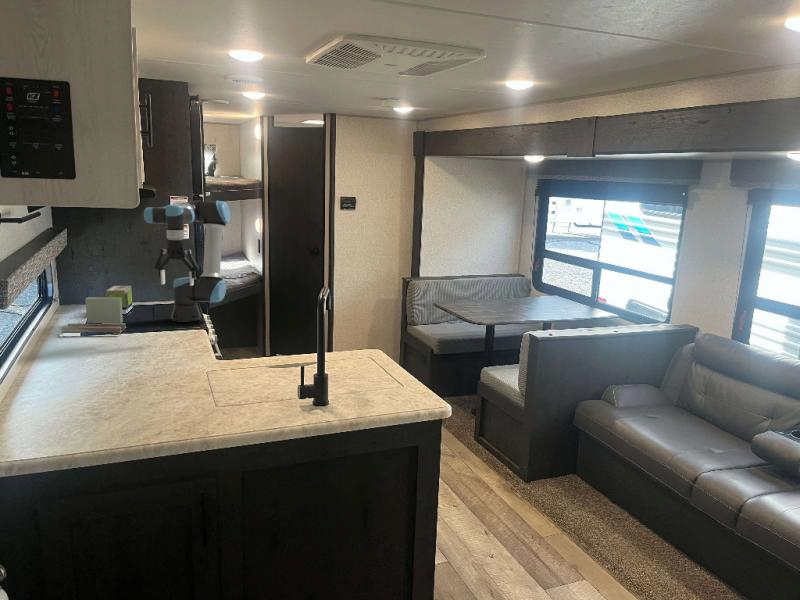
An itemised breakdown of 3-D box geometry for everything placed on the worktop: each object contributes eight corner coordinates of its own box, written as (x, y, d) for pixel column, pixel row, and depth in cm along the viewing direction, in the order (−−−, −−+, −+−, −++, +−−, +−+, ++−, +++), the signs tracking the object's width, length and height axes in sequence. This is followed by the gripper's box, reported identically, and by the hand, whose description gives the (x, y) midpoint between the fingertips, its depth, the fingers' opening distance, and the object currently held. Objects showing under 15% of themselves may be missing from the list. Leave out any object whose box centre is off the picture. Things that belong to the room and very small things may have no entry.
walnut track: (72, 328, 301) (71, 321, 301) (128, 328, 306) (127, 321, 305) (58, 337, 284) (58, 330, 283) (118, 336, 288) (117, 329, 288)
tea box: (114, 311, 345) (113, 285, 342) (133, 311, 347) (132, 285, 344) (106, 316, 330) (105, 289, 328) (126, 316, 332) (125, 289, 329)
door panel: (89, 324, 312) (88, 297, 309) (122, 324, 315) (121, 297, 312) (87, 326, 308) (85, 298, 305) (120, 325, 311) (119, 298, 308)
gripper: (145, 238, 276) (147, 284, 280) (199, 240, 275) (200, 287, 279) (152, 237, 284) (155, 282, 288) (205, 239, 282) (206, 284, 286)
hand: (177, 284), depth 283 cm, fingers open, 13 cm apart
